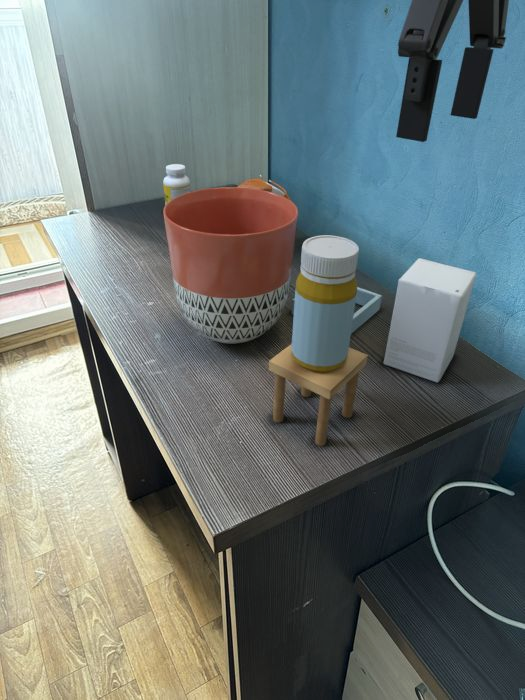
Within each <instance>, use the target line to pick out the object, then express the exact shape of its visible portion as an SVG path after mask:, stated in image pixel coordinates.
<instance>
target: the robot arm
mask: <svg viewBox="0 0 525 700" xmlns="http://www.w3.org/2000/svg"><path fill="white" fill-rule="evenodd" d="M467 1H468V24H469V25H468V27H469V28H468V29H469V45H470V46H466V47H464V50H463V56H462V60H461V64H460V69H459V74H458V77H457V79H458V80H457V82H456V88H455V92H454V98H453V102H452V105H451V106H452V107H451V111H450V116H452V117H458V118H459V117H460V118H466V119H472V120H476V119H478V115H479V111H480V107H481V103H482V99H483V96H484V92H485V91H484V90H485V86H486V82H487V79H488V75H489V70H490V66H491V62H492V58H493V54H494V49H501V50H502V49H503V48H504V46H505V43H506V41H507V37H506V36H505V34H506V28H507V27H506V26H507V19H508V12H509V11H508V10H509V3H510V0H467ZM463 2H464V0H411V1H410V5H409V8H408V11H407V15H406V17H405V20H404V23H403V27H402V29H401V32H400V35H399V40H398V43H397V46H398V48H397V55H398V57H400V58H408V62H407V68H406V74H405V79H404V80H405V81H404V87H403V91H402V92H403V93H402V99H401V104H400V111H399V117H398V124H397V128H396V135H395V138H399V139H405V140H409V141H416V142H420V143H425V142H427V140H428V135H429V131H430V126H431V120H432V115H433V110H434V106H435V99H436V96H437V95H436V94H437V89H438V84H439V80H440V75H441V69H442V65H443V59H438V57H439V55H440V53H441V50H442V48H443V46H444V44H445V41H446V40H447V37H448V35H449V33H450V31H451V28H452V26H453V25H454V22H455V20H456V18H457V15H458V13H459V11H460V9H461V7H462V5H463Z"/></svg>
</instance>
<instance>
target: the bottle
mask: <svg viewBox="0 0 525 700" xmlns="http://www.w3.org/2000/svg"><path fill="white" fill-rule="evenodd" d="M359 254H360V250H359V245H358V244H357V243H356V242H355V241H353V240H351V239H350V238H346V237H343V236H338V235H329V234H328V235H327V234H325V235H324V234H322V235H314V236H312V237H309V238H307V239H305V240H304V241H303V243H302V246H301V256H300V263H301V264H300V272H299V274H298V275H297V278H296V280H295V290H294V298H295V304H294V315H293V320H292V332H291V333H292V335H291V336H292V337H291V344H292V348H291V350H292V352H291V354H292V357H293V359H294V360H295V361H296V362H297V363H298V364H299V365H300V366H301V367H303V368H305V369H307V370H311V371H314V372H328V371H332V370H335V369H337V368H339V367H340V366H341V365H343V364H344V363H345V362H346V360H347V355H348V350H349V347H350V342H351V337H352V334H351V329H352V323H353V316H354V313H355V309H356V303H355V302H356V295H357V287H358V282H357V279H356V271H357V266H358V260H359Z"/></svg>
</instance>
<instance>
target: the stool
mask: <svg viewBox="0 0 525 700" xmlns="http://www.w3.org/2000/svg"><path fill="white" fill-rule="evenodd" d="M291 348H292V343H290V344H289V345H288V346H286V347H285V348H284V349H283V350H281V351H280V352H278V353H277V354H276V355H275V356H274V357H272V358H271V359H269V361H268V371H270V372H272V373H274V387H273V406H272V407H273V409H272V421H273V422H274V423H279V424H280V423H283V421H284V413H285V396H286V381H287V380H288V381H290V382H292V383H294V384H296V385H298V386H300V387H301V389H300V394H301V396H302V397H303V398H309V397H310V396H312V392H313V393H315V394H317V395H318V396H319V401H318V403H319V404H318V413H317V418H316V428H315V438H314V443H315V445H317V446H319V447H322V446H325V445H326V443H327V438H328V437H327V436H328V429H329V421H330V413H331V407H332V398H333V397H334V396H335V395H336V394H337V393H338V392H339V391H340V390H341V389H343V387H344V386H345V388H344V389H345V390H344V396H343V402H342V408H341V409H342V410H341V415H342V417H344V418H347V419H348V418H352V416H353V413H354V412H353V411H354V406H355V401H356V400H355V399H356V394H357V388H358V381H359V377H360V376H359V375H360V371H362V369H363V368H365V366H366V365H367V364H368V363H367V362H368V356H369V355H368V354H366V353H364V352H362V351H359V350H357V349H355V348H352V347H350V346H349V350H348V355H347V360H346V362H345V363H344V364H343V365H341V366H340V367H339V368H337V369H335V370H332V371H328V372H314V371H311V370H307V369H305V368H303V367H301V366H300V365H299V364H298V363H297V362H296V361H295V360H294V359H293V357H292V354H291V352H292V350H291Z"/></svg>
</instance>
